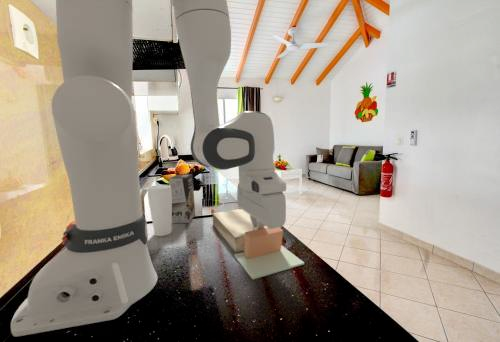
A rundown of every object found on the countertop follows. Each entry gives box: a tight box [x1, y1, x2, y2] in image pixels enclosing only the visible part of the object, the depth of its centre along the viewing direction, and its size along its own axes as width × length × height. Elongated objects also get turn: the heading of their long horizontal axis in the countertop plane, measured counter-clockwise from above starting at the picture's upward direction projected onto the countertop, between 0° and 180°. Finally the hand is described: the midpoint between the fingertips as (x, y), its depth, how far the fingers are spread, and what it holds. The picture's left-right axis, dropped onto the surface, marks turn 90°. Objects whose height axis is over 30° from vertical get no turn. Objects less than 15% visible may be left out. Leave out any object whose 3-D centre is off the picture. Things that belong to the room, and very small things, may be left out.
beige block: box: [212, 208, 267, 253], centre depth 72 cm, size 11×22×4 cm, turn 24°
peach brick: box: [243, 227, 284, 259], centre depth 58 cm, size 9×6×2 cm
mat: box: [233, 244, 305, 280], centre depth 56 cm, size 13×11×1 cm
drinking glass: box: [147, 184, 173, 237], centre depth 73 cm, size 7×7×15 cm
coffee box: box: [168, 173, 196, 224], centre depth 86 cm, size 9×6×16 cm
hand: (258, 233), depth 60 cm, fingers closed
